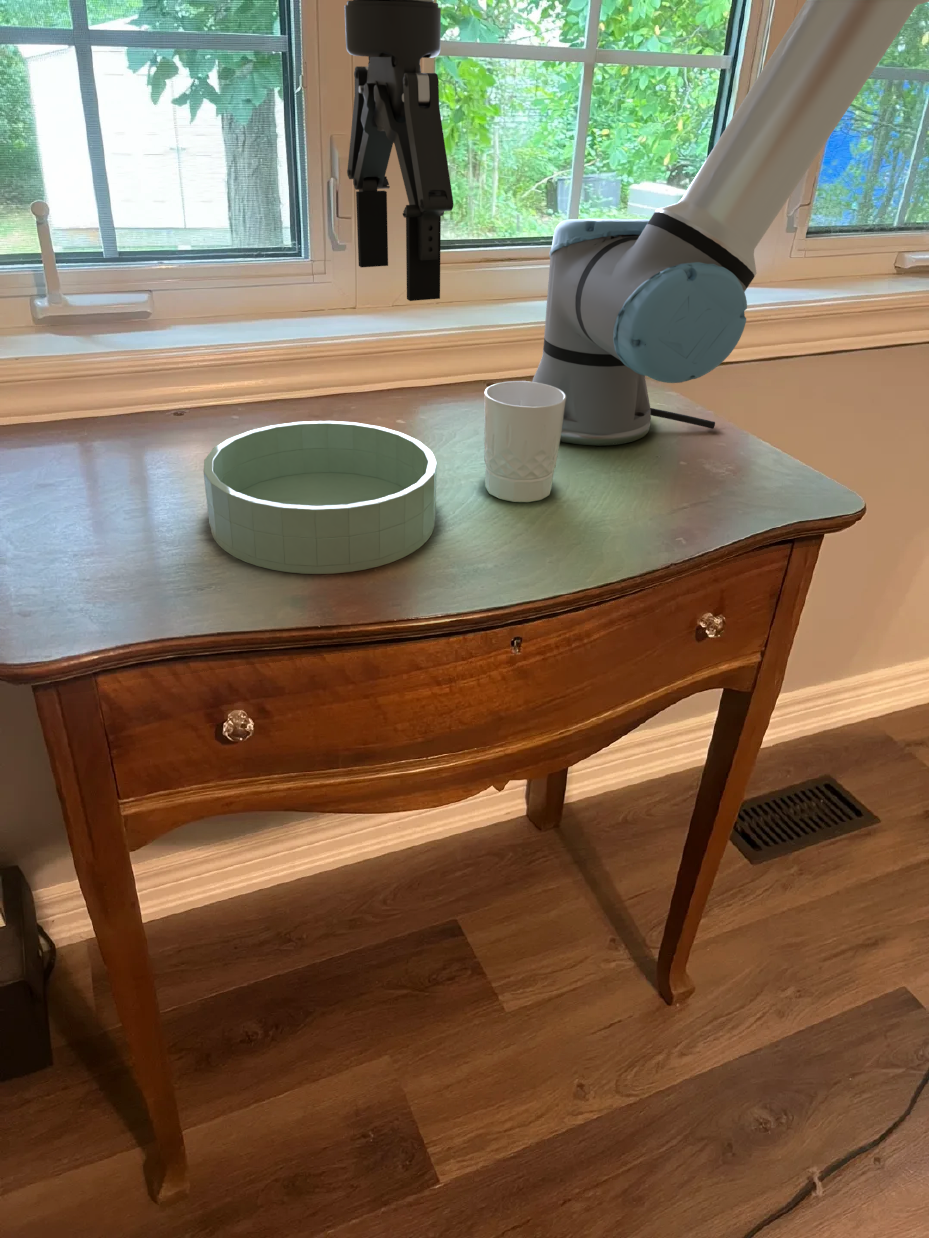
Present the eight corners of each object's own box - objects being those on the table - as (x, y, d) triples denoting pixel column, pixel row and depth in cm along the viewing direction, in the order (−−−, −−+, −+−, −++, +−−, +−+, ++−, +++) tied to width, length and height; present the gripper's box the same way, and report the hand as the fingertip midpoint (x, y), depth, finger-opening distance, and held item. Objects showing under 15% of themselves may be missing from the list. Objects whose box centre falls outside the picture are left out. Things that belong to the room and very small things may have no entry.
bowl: (415, 473, 98) (416, 417, 95) (453, 566, 81) (456, 502, 78) (212, 481, 94) (206, 424, 91) (207, 581, 77) (200, 515, 74)
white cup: (551, 509, 92) (561, 411, 87) (472, 500, 93) (477, 402, 88) (560, 479, 98) (570, 385, 93) (487, 470, 100) (492, 377, 94)
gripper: (304, -1, 82) (319, 256, 93) (400, -8, 62) (403, 319, 73) (387, 2, 84) (391, 252, 95) (503, -4, 65) (491, 311, 76)
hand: (396, 282), depth 84 cm, fingers open, 13 cm apart
